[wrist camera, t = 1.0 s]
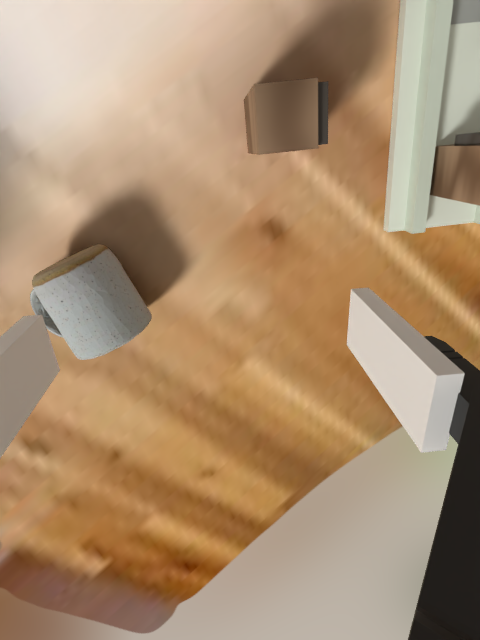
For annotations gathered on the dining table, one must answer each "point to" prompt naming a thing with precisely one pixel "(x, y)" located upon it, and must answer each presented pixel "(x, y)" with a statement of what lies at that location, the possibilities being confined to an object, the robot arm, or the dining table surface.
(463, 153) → the block
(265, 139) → the brown and grey block
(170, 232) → the dining table surface
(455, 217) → the rail board
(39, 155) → the dining table surface
